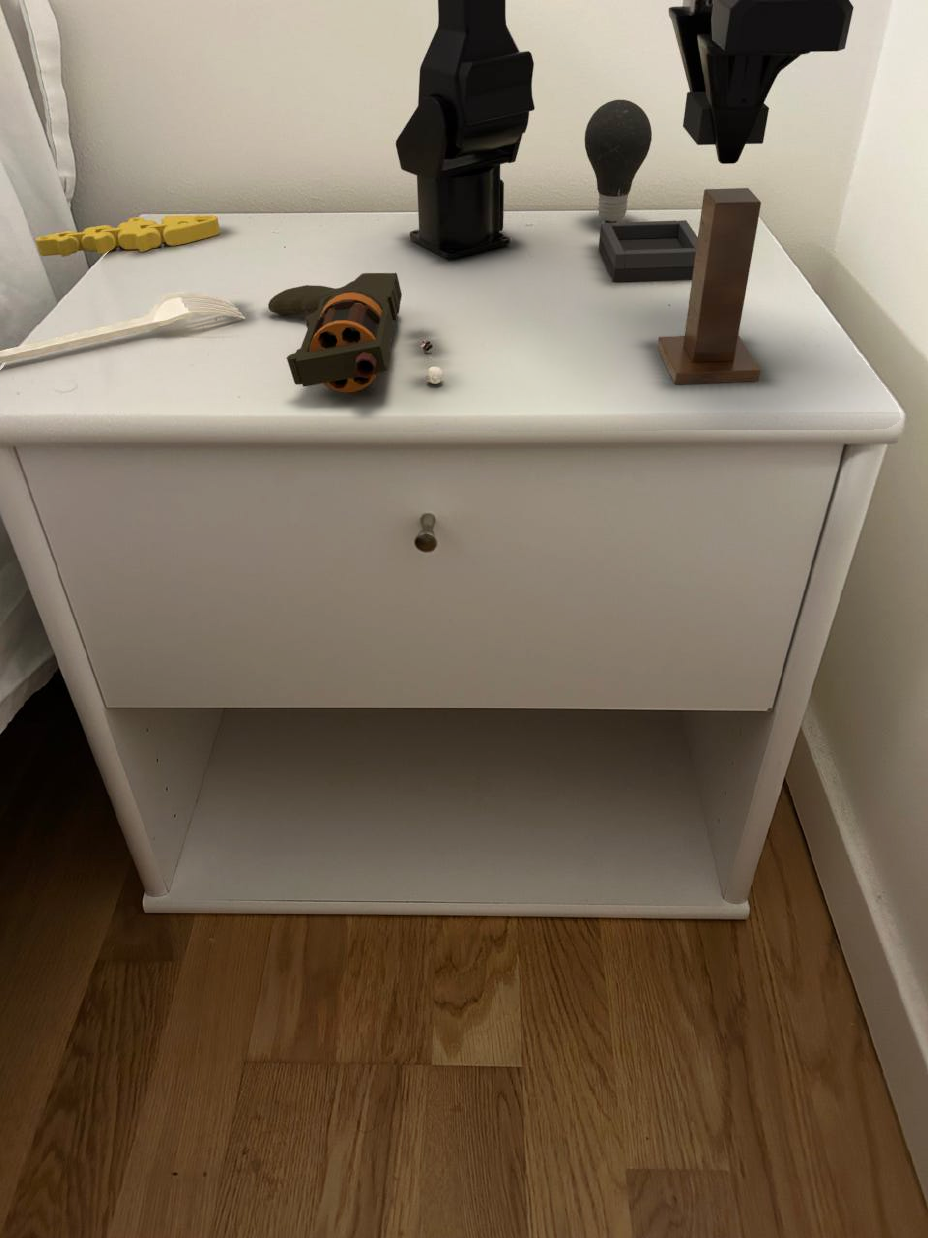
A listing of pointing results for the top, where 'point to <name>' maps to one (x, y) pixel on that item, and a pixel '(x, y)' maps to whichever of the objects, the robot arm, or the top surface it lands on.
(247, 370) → the top surface
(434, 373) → the figurine set
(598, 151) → the light bulb
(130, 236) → the toy
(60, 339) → the fork
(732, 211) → the stand
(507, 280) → the top surface
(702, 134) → the black block
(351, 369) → the toy gun
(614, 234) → the base pad
